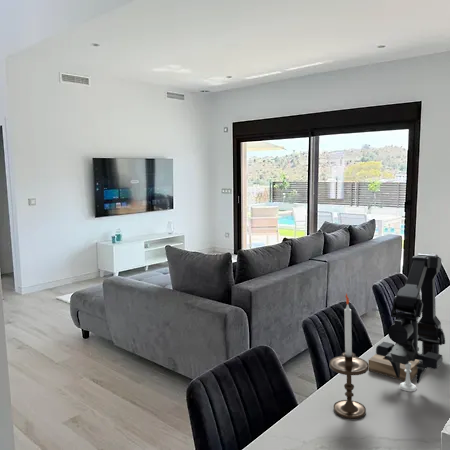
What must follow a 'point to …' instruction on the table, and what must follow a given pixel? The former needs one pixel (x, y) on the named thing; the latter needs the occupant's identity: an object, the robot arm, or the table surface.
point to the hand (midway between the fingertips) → (407, 380)
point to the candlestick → (349, 373)
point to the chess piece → (407, 380)
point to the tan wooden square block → (391, 367)
